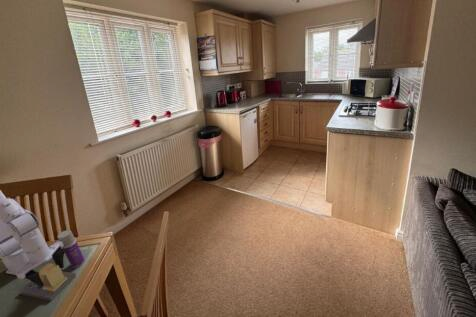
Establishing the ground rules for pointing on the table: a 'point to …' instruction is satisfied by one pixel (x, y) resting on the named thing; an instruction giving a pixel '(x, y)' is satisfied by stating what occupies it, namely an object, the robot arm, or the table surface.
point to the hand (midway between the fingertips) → (51, 276)
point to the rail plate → (45, 292)
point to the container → (71, 248)
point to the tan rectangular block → (51, 276)
